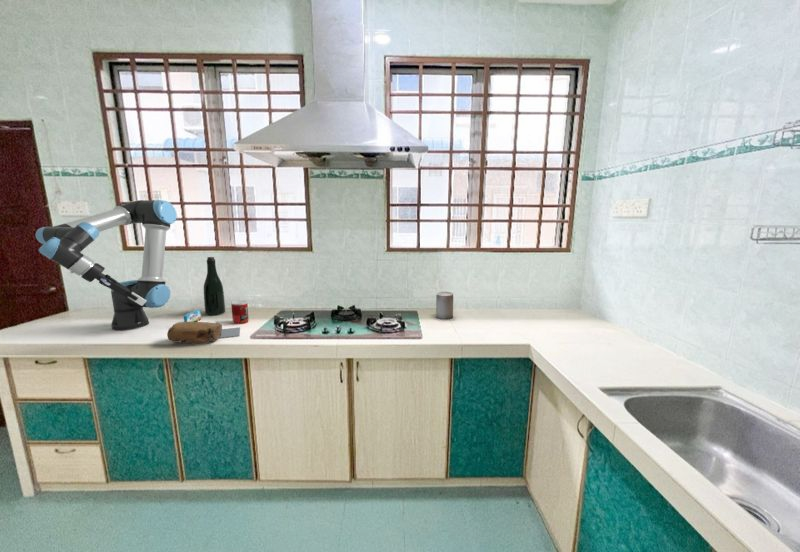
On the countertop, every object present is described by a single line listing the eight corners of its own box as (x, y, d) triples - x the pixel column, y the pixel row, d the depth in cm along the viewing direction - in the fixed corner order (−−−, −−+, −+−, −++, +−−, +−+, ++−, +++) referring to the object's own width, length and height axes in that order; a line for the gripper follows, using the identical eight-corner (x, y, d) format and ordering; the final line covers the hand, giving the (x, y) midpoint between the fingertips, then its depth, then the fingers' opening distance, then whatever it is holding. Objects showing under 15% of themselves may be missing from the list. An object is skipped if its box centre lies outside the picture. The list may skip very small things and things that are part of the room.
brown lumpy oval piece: (180, 320, 161) (223, 321, 161) (181, 335, 162) (224, 336, 163) (164, 327, 150) (211, 328, 151) (166, 344, 152) (212, 345, 152)
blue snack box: (187, 327, 176) (186, 315, 175) (184, 327, 176) (183, 315, 175) (201, 320, 188) (200, 309, 187) (198, 320, 188) (197, 309, 187)
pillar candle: (452, 314, 202) (453, 289, 200) (453, 319, 193) (453, 293, 190) (435, 314, 203) (436, 289, 201) (435, 319, 194) (436, 292, 191)
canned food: (242, 324, 181) (241, 304, 179) (229, 323, 182) (227, 303, 180) (251, 320, 188) (250, 300, 186) (238, 319, 190) (237, 300, 188)
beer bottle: (229, 312, 202) (224, 256, 197) (211, 317, 194) (206, 258, 188) (219, 310, 208) (214, 255, 202) (201, 314, 199) (196, 257, 193)
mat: (185, 333, 166) (185, 333, 166) (240, 328, 176) (240, 327, 176) (180, 343, 155) (180, 342, 155) (239, 336, 164) (239, 335, 164)
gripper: (81, 274, 143) (137, 306, 156) (78, 278, 133) (138, 313, 146) (96, 260, 145) (150, 293, 158) (94, 264, 135) (151, 299, 148)
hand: (144, 303), depth 152 cm, fingers closed
